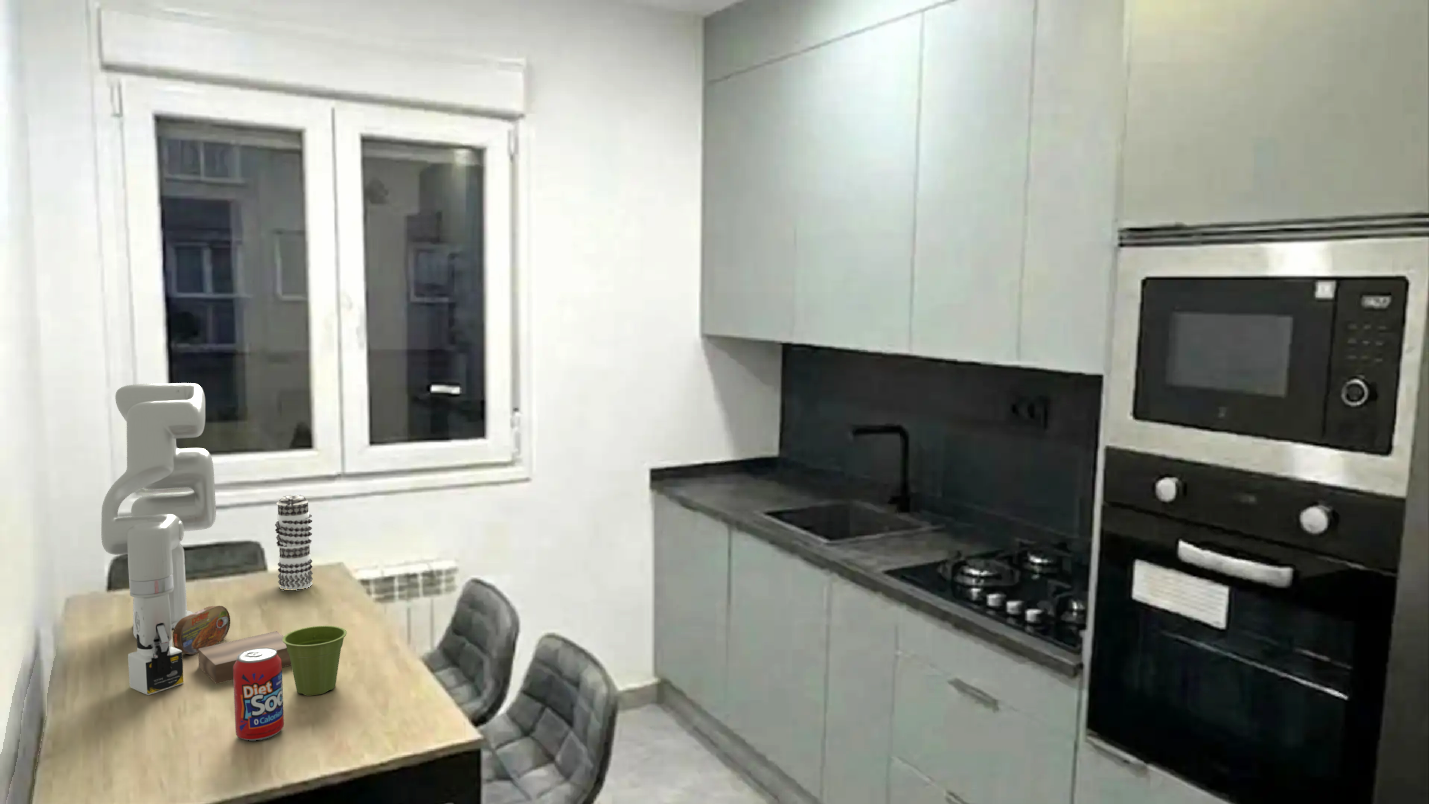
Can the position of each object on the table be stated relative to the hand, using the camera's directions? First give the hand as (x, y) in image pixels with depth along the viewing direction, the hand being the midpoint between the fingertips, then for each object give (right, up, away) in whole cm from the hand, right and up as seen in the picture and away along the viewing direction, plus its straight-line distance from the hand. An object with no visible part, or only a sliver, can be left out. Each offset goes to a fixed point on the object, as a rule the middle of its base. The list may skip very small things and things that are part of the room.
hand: (156, 668), depth 186 cm
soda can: (+31, -6, -20) cm, 37 cm away
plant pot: (+32, -4, 0) cm, 33 cm away
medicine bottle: (0, -4, 0) cm, 4 cm away
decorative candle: (-2, +3, +67) cm, 67 cm away
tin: (-3, -2, +22) cm, 22 cm away
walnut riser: (+13, -3, +11) cm, 17 cm away
